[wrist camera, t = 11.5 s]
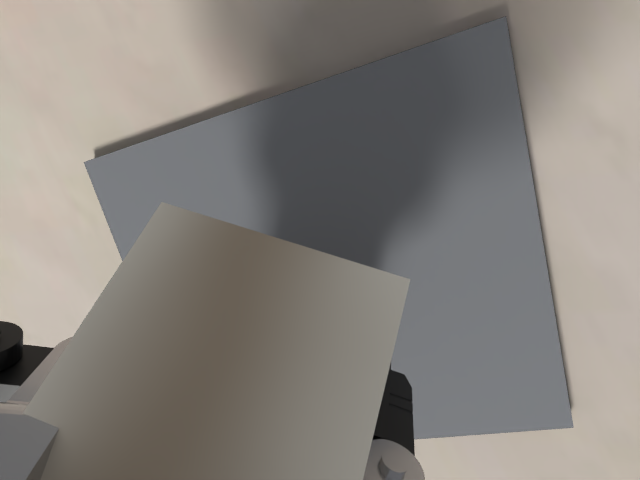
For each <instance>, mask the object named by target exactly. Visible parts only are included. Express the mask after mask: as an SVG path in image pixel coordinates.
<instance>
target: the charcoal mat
mask: <svg viewBox="0 0 640 480" xmlns="http://www.w3.org/2000/svg"><path fill="white" fill-rule="evenodd" d="M84 164H85V167H86V169H87V172H88V174H89V177H90V179H91V182H92V184H93V187H94V190H95V192H96V195H97V197H98V200H99V202H100V205H101V207H102V210H103V212H104V215H105V218H106V220H107V223H108V225H109V228H110V230H111V233H112V235H113V238H114V240H115V243H116V246H117V248H118V251H119V253H120V256H121V258H122V261H123V260H124V258H125V257H126V255H127V254H128V252H129V251H130V249H131V248H132V246H133V245H134V243H135V242H136V240H137V239H138V237H139V236H140V234H141V233H142V231H143V230H144V228H145V227H146V225H147V223H148V222H149V220H150V219H151V217H152V216H153V214H154V213H155V211H156V210H157V208H158V207H159V205H160V204H161V202H163V203H167V204H170V205H173V206H176V207H180V208H183V209H186V210H189V211H192V212H196V213H199V214H202V215H205V216H208V217H212V218H215V219H218V220H221V221H224V222H228V223H231V224H234V225H237V226H241V227H244V228H247V229H250V230H253V231H257V232H260V233H263V234H266V235H269V236H273V237H276V238H279V239H282V240H286V241H289V242H292V243H295V244H298V245H302V246H305V247H308V248H311V249H314V250H318V251H321V252H324V253H327V254H331V255H334V256H337V257H340V258H343V259H347V260H350V261H353V262H356V263H359V264H363V265H366V266H369V267H372V268H376V269H379V270H382V271H385V272H388V273H392V274H395V275H398V276H401V277H404V278H408V279H410V283H409V287H408V292H407V296H406V300H405V304H404V309H403V313H402V317H401V321H400V325H399V330H398V334H397V338H396V342H395V346H394V351H393V355H392V359H391V370H393V371H396V372H399V373H402V374H405V376H406V378H407V380H408V381H409V383H410V385H411V387H412V400H413V401H412V403H413V413H412V414H413V427H414V439H426V438H440V437H453V436H467V435H480V434H494V433H508V432H521V431H535V430H548V429H562V428H573V421H572V415H571V409H570V403H569V397H568V391H567V385H566V379H565V373H564V367H563V361H562V354H561V348H560V342H559V336H558V330H557V324H556V318H555V312H554V306H553V300H552V294H551V287H550V281H549V275H548V269H547V263H546V257H545V251H544V245H543V239H542V233H541V227H540V220H539V214H538V208H537V202H536V196H535V190H534V184H533V178H532V172H531V166H530V160H529V153H528V147H527V141H526V135H525V129H524V123H523V117H522V111H521V105H520V99H519V93H518V86H517V80H516V74H515V68H514V62H513V56H512V50H511V44H510V38H509V32H508V26H507V19H506V16H505V17H502V18H499V19H496V20H494V21H491V22H488V23H485V24H482V25H479V26H476V27H473V28H470V29H467V30H465V31H462V32H459V33H456V34H453V35H450V36H447V37H444V38H441V39H439V40H436V41H433V42H430V43H427V44H424V45H421V46H418V47H415V48H413V49H410V50H407V51H404V52H401V53H398V54H395V55H392V56H389V57H387V58H384V59H381V60H378V61H375V62H372V63H369V64H366V65H363V66H360V67H358V68H355V69H352V70H349V71H346V72H343V73H340V74H337V75H334V76H332V77H329V78H326V79H323V80H320V81H317V82H314V83H311V84H308V85H306V86H303V87H300V88H297V89H294V90H291V91H288V92H285V93H282V94H280V95H277V96H274V97H271V98H268V99H265V100H262V101H259V102H256V103H254V104H251V105H248V106H245V107H242V108H239V109H236V110H233V111H230V112H227V113H225V114H222V115H219V116H216V117H213V118H210V119H207V120H204V121H201V122H199V123H196V124H193V125H190V126H187V127H184V128H181V129H178V130H175V131H173V132H170V133H167V134H164V135H161V136H158V137H155V138H152V139H149V140H147V141H144V142H141V143H138V144H135V145H132V146H129V147H126V148H123V149H121V150H118V151H115V152H112V153H109V154H106V155H103V156H100V157H97V158H94V159H92V160H89V161H86V162H84Z"/></svg>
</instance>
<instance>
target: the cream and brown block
mask: <svg viewBox="0 0 640 480" xmlns="http://www.w3.org/2000/svg"><path fill="white" fill-rule="evenodd" d="M409 283H410V279H408V278H404V277H401V276H398V275H395V274H392V273H388V272H385V271H382V270H379V269H376V268H372V267H369V266H366V265H363V264H359V263H356V262H353V261H350V260H347V259H343V258H340V257H337V256H334V255H331V254H327V253H324V252H321V251H318V250H314V249H311V248H308V247H305V246H302V245H298V244H295V243H292V242H289V241H286V240H282V239H279V238H276V237H273V236H269V235H266V234H263V233H260V232H257V231H253V230H250V229H247V228H244V227H241V226H237V225H234V224H231V223H228V222H224V221H221V220H218V219H215V218H212V217H208V216H205V215H202V214H199V213H196V212H192V211H189V210H186V209H183V208H180V207H176V206H173V205H170V204H167V203H163V202H161V204H160V205H159V207H158V208H157V210H156V211H155V213H154V214H153V216H152V217H151V219H150V220H149V222H148V223H147V225H146V227H145V228H144V230H143V231H142V233H141V234H140V236H139V237H138V239H137V240H136V242H135V243H134V245H133V246H132V248H131V249H130V251H129V252H128V254H127V255H126V257H125V258H124V260H123V262H122V263H121V265H120V266H119V268H118V269H117V271H116V272H115V274H114V275H113V277H112V278H111V280H110V281H109V283H108V284H107V286H106V287H105V289H104V290H103V292H102V293H101V295H100V296H99V298H98V300H97V301H96V303H95V304H94V306H93V307H92V309H91V310H90V312H89V313H88V315H87V316H86V318H85V319H84V321H83V322H82V324H81V325H80V327H79V328H78V330H77V331H76V333H75V334H74V336H73V338H72V339H71V341H70V342H69V344H68V345H67V347H66V348H65V350H64V351H63V353H62V354H61V356H60V357H59V359H58V360H57V362H56V363H55V365H54V366H53V368H52V369H51V371H50V373H49V374H48V376H47V377H46V379H45V380H44V382H43V383H42V385H41V386H40V388H39V389H38V391H37V392H36V394H35V395H34V397H33V398H32V400H31V401H30V403H29V404H28V406H27V407H26V409H25V411H24V412H23V414H26V415H29V416H31V417H34V418H36V419H38V420H41V421H43V422H46V423H48V424H51V425H53V426H55V427H58V428H59V430H58V433H57V436H56V438H55V441H54V444H53V447H52V449H51V452H50V455H49V458H48V461H47V463H46V466H45V469H44V472H43V474H42V477H41V480H363V477H364V473H365V469H366V464H367V460H368V456H369V452H370V448H371V443H372V439H373V435H374V431H375V426H376V422H377V418H378V414H379V410H380V405H381V401H382V397H383V393H384V389H385V384H386V380H387V376H388V372H389V368H390V363H391V359H392V355H393V351H394V346H395V342H396V338H397V334H398V330H399V325H400V321H401V317H402V313H403V309H404V304H405V300H406V296H407V292H408V287H409Z"/></svg>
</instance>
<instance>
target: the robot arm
mask: <svg viewBox="0 0 640 480" xmlns="http://www.w3.org/2000/svg"><path fill="white" fill-rule="evenodd" d="M72 338H73V337H71V338H68V339H66V340H64V341H62V342H61V343H59V344H58V345H57V346H56V347H55V348H48V347H40V346H31V345H23V331H22V329H21V328H20V327H19V326H17V325H16V324H13V323H9V322H3V321H0V480H41V477H42V474H43V472H44V469H45V466H46V463H47V461H48V458H49V455H50V452H51V449H52V447H53V444H54V441H55V438H56V436H57V433H58V430H59V428H58V427H55V426H53V425H51V424H48V423H46V422H43V421H41V420H38V419H36V418H34V417H31V416H29V415H26V414H23V412H24V411H25V409H26V407H27V406H28V404H29V403H30V401H31V400H32V398H33V397H34V395H35V394H36V392H37V391H38V389H39V388H40V386H41V385H42V383H43V382H44V380H45V379H46V377H47V376H48V374H49V373H50V371H51V369H52V368H53V366H54V365H55V363H56V362H57V360H58V359H59V357H60V356H61V354H62V353H63V351H64V350H65V348H66V347H67V345H68V344H69V342H70V341H71V339H72ZM412 401H413V400H412V387H411V385H410V383H409V381H408V380H407V378H406V376H405V374H402V373H399V372H396V371H393V370H391V363H390V368H389V372H388V376H387V380H386V384H385V389H384V393H383V397H382V401H381V405H380V410H379V414H378V418H377V422H376V426H375V431H374V435H373V439H372V443H371V448H370V452H369V456H368V460H367V464H366V469H365V473H364V477H363V480H425V477H424V472H423V469H422V467H421V465H420V463H419V462H418V460H417V459H416V458H415V454H414V427H413V414H412V413H413V403H412Z"/></svg>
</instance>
